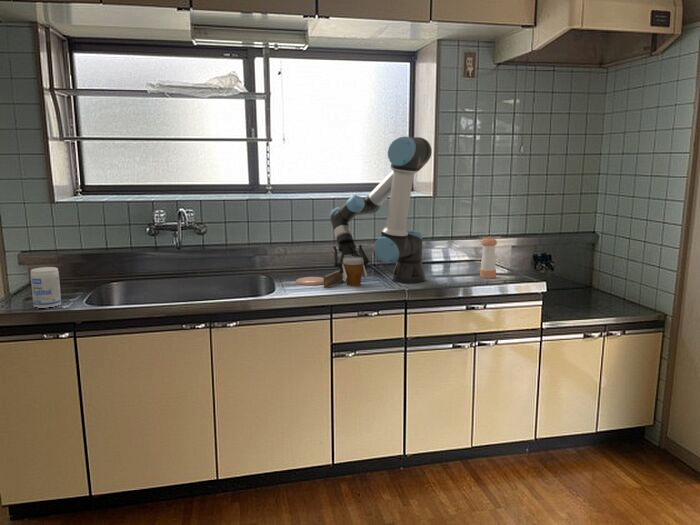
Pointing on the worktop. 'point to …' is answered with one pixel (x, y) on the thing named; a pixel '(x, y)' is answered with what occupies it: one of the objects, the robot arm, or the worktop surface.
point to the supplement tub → (45, 287)
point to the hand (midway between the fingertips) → (355, 278)
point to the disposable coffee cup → (353, 270)
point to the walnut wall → (332, 278)
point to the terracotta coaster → (310, 281)
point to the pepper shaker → (488, 258)
